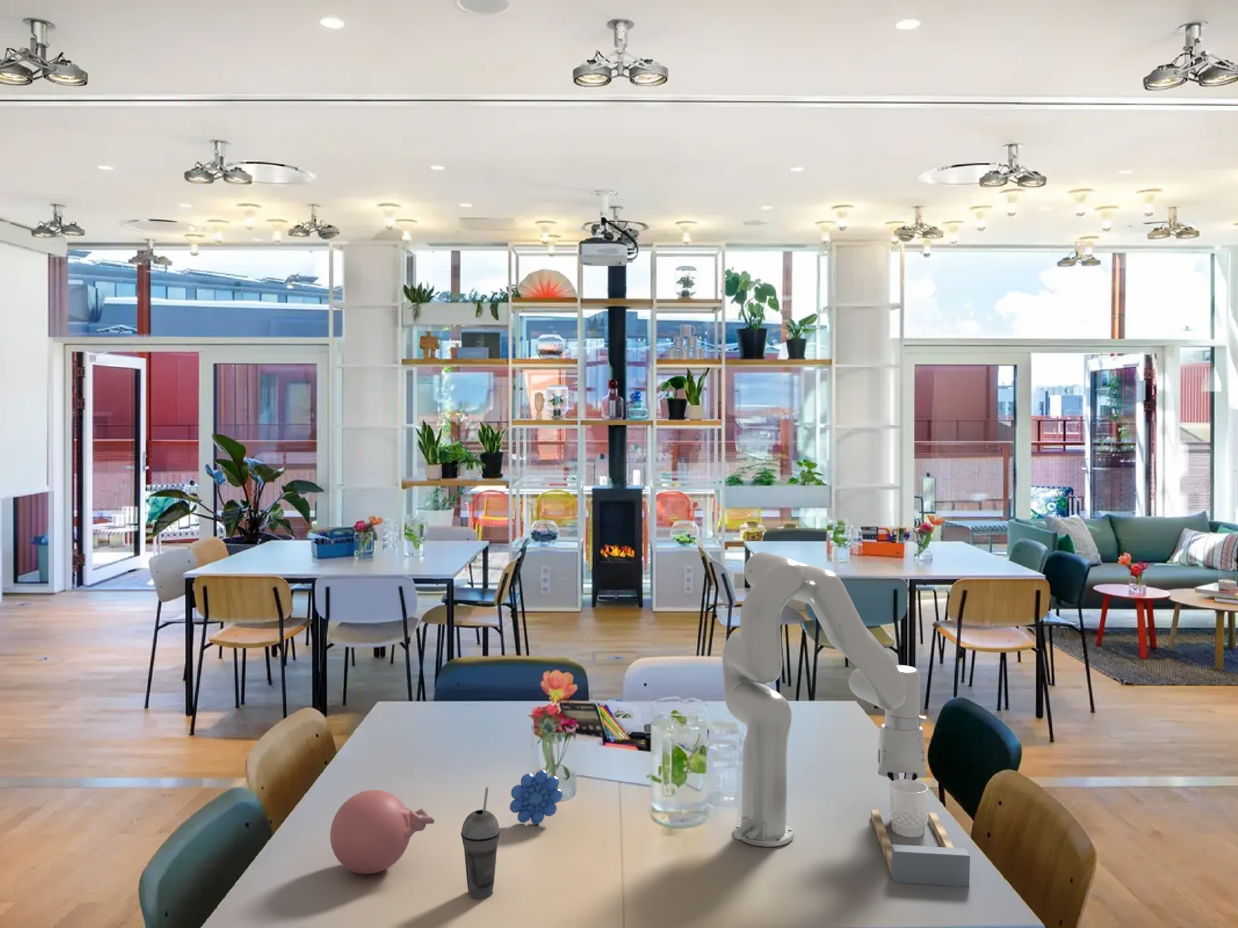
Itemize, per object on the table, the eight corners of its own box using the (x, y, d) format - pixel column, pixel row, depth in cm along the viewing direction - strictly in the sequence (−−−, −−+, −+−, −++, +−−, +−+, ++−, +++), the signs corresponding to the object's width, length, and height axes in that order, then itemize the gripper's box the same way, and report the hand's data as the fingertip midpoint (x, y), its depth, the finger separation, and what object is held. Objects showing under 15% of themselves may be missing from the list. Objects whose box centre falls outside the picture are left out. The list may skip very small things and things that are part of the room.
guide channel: (965, 878, 180) (965, 868, 180) (891, 874, 182) (891, 864, 182) (935, 821, 207) (935, 812, 207) (870, 817, 209) (871, 808, 209)
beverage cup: (462, 884, 177) (462, 780, 177) (501, 882, 178) (501, 779, 177) (459, 903, 170) (459, 795, 169) (499, 902, 171) (499, 794, 170)
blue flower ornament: (563, 815, 209) (564, 763, 209) (561, 828, 202) (561, 774, 202) (512, 815, 209) (512, 762, 209) (508, 828, 202) (508, 773, 202)
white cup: (929, 840, 198) (930, 793, 197) (890, 836, 199) (891, 790, 199) (924, 825, 205) (925, 780, 205) (887, 821, 207) (888, 777, 206)
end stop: (969, 886, 178) (969, 855, 177) (894, 881, 179) (894, 851, 179) (965, 878, 180) (966, 848, 180) (891, 874, 182) (891, 844, 182)
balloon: (428, 887, 176) (427, 807, 175) (320, 889, 175) (320, 808, 174) (439, 850, 191) (439, 777, 191) (341, 852, 190) (341, 778, 190)
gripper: (932, 717, 213) (932, 796, 214) (866, 715, 215) (865, 793, 216) (940, 727, 206) (939, 809, 206) (870, 725, 208) (870, 806, 208)
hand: (901, 800), depth 211 cm, fingers closed
